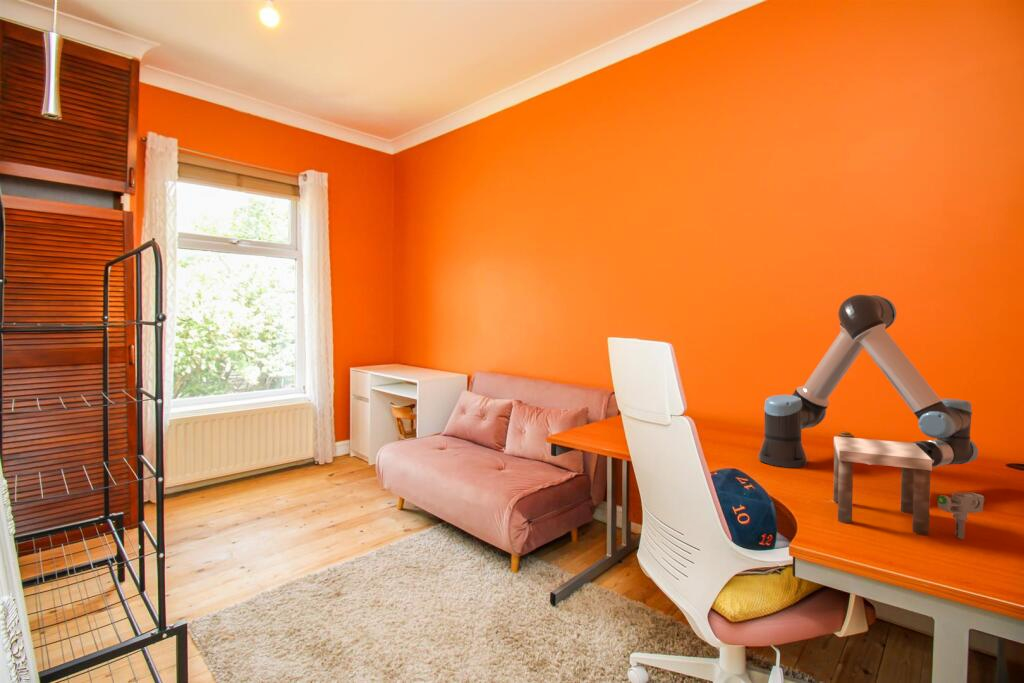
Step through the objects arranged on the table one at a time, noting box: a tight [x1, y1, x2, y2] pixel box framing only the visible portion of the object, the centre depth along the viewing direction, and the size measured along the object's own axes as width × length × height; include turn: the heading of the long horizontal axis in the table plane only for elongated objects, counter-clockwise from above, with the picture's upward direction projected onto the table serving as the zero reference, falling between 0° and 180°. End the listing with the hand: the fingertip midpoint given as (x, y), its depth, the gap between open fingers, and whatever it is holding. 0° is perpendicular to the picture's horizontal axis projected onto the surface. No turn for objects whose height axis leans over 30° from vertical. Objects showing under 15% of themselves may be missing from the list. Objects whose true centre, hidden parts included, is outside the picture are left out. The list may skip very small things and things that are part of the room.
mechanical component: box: [936, 492, 985, 540], centre depth 115 cm, size 3×10×10 cm, turn 95°
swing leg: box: [832, 447, 839, 503], centre depth 137 cm, size 10×3×15 cm, turn 62°
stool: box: [833, 435, 933, 536], centre depth 128 cm, size 18×18×18 cm
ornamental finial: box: [833, 430, 856, 449], centre depth 192 cm, size 8×8×8 cm
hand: (868, 459), depth 142 cm, fingers closed
